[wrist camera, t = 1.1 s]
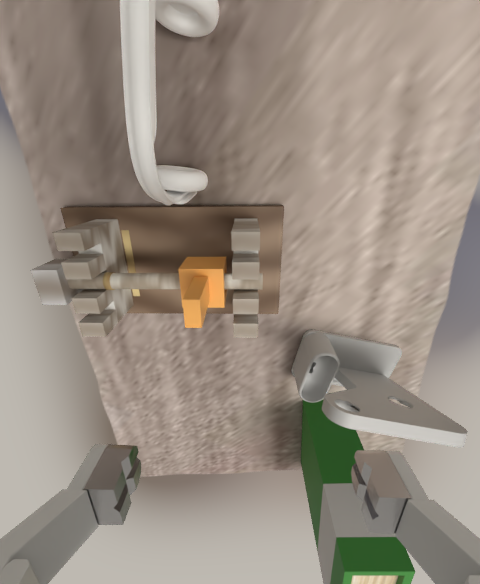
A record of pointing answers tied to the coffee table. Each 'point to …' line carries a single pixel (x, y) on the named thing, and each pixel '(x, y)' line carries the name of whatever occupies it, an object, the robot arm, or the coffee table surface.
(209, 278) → the sleeve
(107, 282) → the cord comb board
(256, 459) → the coffee table surface
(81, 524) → the robot arm
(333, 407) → the phone holder
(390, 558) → the hardback book
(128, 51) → the headset
